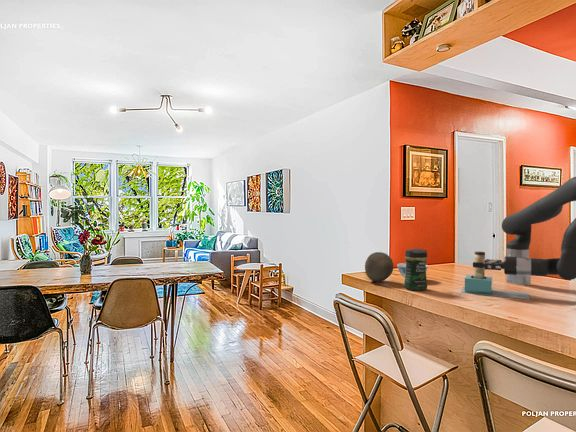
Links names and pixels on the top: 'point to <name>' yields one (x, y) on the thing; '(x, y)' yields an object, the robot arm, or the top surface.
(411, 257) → the coffee jar
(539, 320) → the top surface
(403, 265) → the chinaware
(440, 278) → the top surface
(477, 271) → the dowel
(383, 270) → the dark grey ball
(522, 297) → the board
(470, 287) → the teal open box
